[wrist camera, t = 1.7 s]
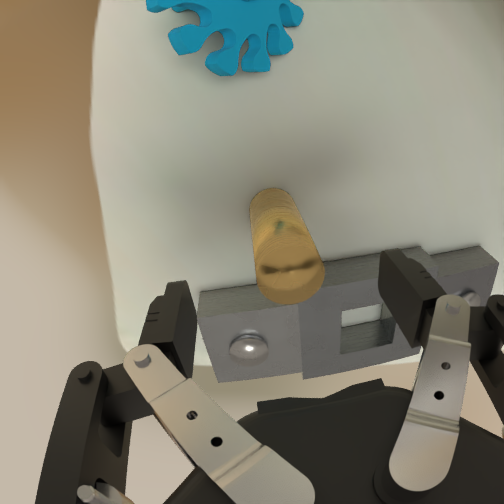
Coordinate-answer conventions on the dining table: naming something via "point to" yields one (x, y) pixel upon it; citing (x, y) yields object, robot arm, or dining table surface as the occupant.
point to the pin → (283, 249)
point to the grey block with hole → (326, 318)
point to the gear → (234, 30)
